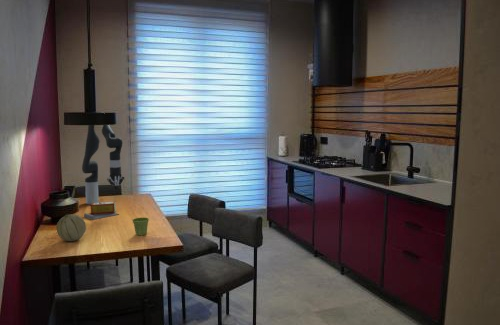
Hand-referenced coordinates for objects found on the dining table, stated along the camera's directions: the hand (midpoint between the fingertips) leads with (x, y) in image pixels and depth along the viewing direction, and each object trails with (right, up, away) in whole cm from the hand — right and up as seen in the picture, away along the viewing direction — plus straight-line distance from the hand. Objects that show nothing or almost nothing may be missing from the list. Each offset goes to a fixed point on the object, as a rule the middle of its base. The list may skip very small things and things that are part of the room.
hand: (116, 190), depth 290 cm
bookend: (-7, -17, -7) cm, 19 cm away
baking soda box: (-2, -12, +4) cm, 12 cm away
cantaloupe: (-3, -23, -64) cm, 68 cm away
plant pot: (+31, -22, -52) cm, 64 cm away
